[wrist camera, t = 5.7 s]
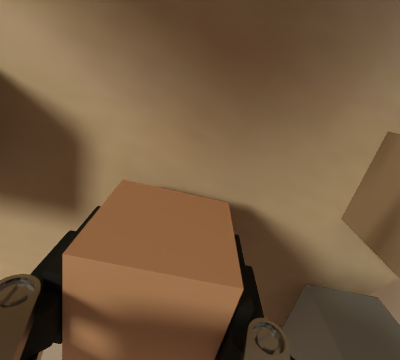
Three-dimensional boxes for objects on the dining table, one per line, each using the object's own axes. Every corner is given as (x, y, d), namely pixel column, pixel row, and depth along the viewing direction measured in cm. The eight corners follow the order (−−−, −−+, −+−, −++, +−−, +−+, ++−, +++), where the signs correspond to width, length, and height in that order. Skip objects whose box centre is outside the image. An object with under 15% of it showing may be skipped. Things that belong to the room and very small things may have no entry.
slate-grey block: (377, 297, 16) (448, 387, 11) (342, 345, 18) (391, 439, 13) (305, 283, 15) (349, 370, 11) (278, 333, 17) (305, 426, 13)
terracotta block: (228, 202, 11) (243, 289, 7) (203, 280, 13) (202, 388, 9) (122, 179, 11) (62, 253, 6) (113, 262, 13) (62, 365, 8)
